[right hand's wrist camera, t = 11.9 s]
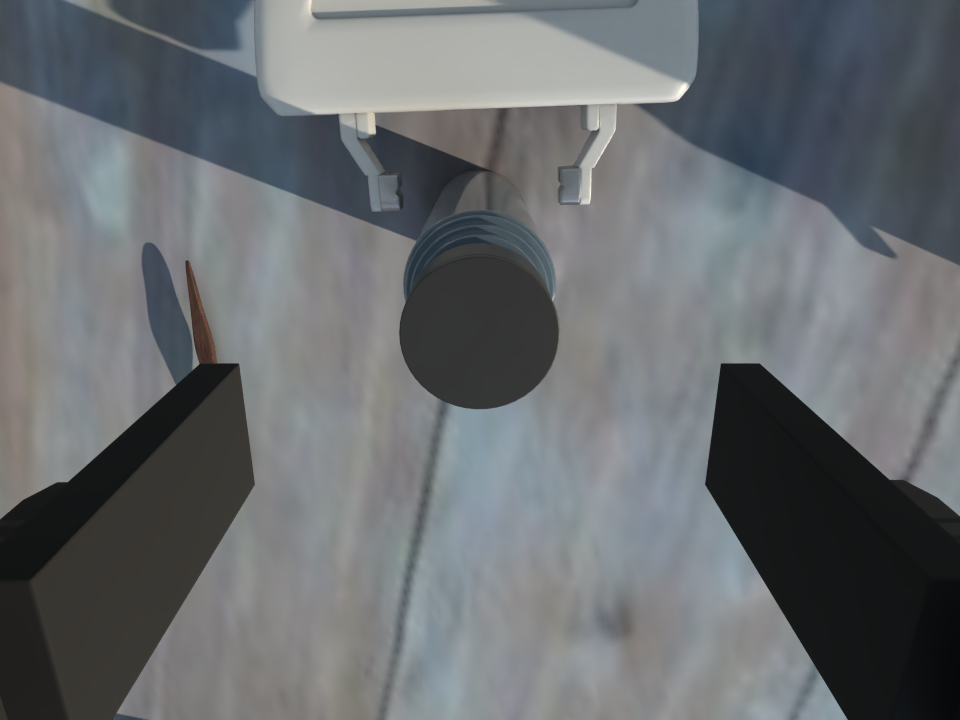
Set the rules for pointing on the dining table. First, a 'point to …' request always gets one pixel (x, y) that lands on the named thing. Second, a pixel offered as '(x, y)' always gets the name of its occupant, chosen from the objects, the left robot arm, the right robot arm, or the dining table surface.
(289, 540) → the dining table surface
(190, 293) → the fork
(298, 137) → the dining table surface
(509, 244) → the bottle
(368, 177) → the left robot arm
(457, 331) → the cap
